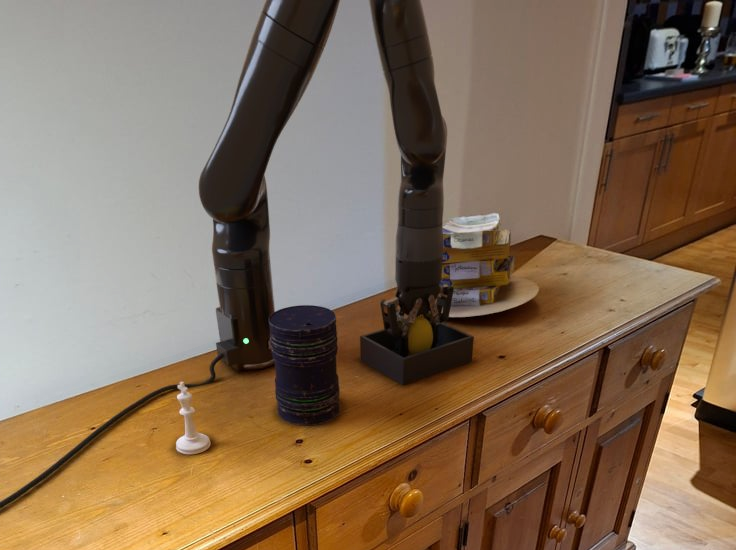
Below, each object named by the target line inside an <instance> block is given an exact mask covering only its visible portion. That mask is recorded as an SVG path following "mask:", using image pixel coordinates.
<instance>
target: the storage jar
mask: <svg viewBox="0 0 736 550" xmlns="http://www.w3.org/2000/svg"><path fill="white" fill-rule="evenodd" d="M269 326H270V344H271V347H272V349H271V353H272V356H273V358H274V362H275V364H274V370H275V378H274V387H275V389H274V393H275V400H276V405H277V415H278V417H279V418H280V419H281V420H282V421H284V422H286V423H288V424H292V425H296V426H315V425H317V426H318V425H321V424H325V423H327V422H329V421H331V420H334V419H335V418H336V417H337V416H338V415H339V413H340V410H341V409H340V395H341V394H340V391H341V390H340V389H341V388H340V384H339V383H340V382H339V380H340V379H339V375H338V373H337V372H338V371H337V354H338V349H339V347H338V331H337V315H336V313H335V312H334V311H333V309H330V308H327V307H324V306H320V305H312V304H311V305H309V304H303V305H302V304H299V305H293V306H286V307H283V308H280V309H277V310H275V312H274V313H272V314H271V315H270V317H269Z"/></svg>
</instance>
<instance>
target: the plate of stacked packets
mask: <svg viewBox="0 0 736 550" xmlns="http://www.w3.org/2000/svg"><path fill="white" fill-rule="evenodd" d="M501 225H502V222H501V217H500V214H499V213H498V212H492V213H490V214H484V213H481V214H475V215H474V214H473V215H464V214H463V213H462V215H461V216H455V217H453V218H451V217H450V218H446V219H445V220H444V221H443V237H444V238H443V261H442V279H441V282H440V283H439V285H440V284H441V283H444V284H446V285H449V286H451V287H453V288H454V292H453V297H452V302H451V307H450V313H449V318H466V317H469V318H470V317H476V316H485V315H489V314H494V313H500V312H503V311H506V310H510V309H513V308H516V307H518V306H521V305H523V304H526V303H527V302H529V301H530V300H532V299H533V298H535V297H536V296H537V295H538V293H539V291H540V288H539V286H538V284H537V283H536V282H534V281H532V280H530V279H528V278H523V277H518V276H513V274H514V271H515V256H516V253H513V254H512V255H510V254H511V252H510V249H511V243H512V237H511V236H512V231H511V230H509V229H503V230H500V226H501ZM436 302H437V299H436V301H435V304H436ZM442 312H443V307H442ZM442 312H441V313H442Z"/></svg>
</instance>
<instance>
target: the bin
mask: <svg viewBox="0 0 736 550" xmlns="http://www.w3.org/2000/svg"><path fill="white" fill-rule="evenodd" d="M403 324H404V323H403ZM402 327H403V325H402ZM401 329H402V328H401ZM474 340H475V336H474V335H472V334H470V333H467V332H465V331H462V330H460V329H458V328H456V327H454V326H451V325H450V324H447V323H446V322H442V323H441V324H440V326H439V327H438V341H437V344H436V347H435V348H432V349H429V350H426V351H423V352H420V353H417V354H414V355H411V356H409V355H408V357H405V358H404V357H402V356H400V355H398V354H397V353H396V352H395V337H393V336H392V335H390V334H387V333H386V332H385V330H384V328H383V329H379V330H376V331H372V332H369V333H366V334H365V333H364V334H363V335H359V347H360V348H359V350H360V351H359V352H360V353H359V355H360V356H359V358H360V361H361V362H363V363H364V364H365V365H368V366H369V367H370V368H372V369H375V370H376V371H378V372H380V373H382V374H383V375H385V376H387V377H388V378H390V379H392V380H393V381H395V382H397V383H399V384H400V385H402V386H404V385H407V384H411V383H412V382H416V381H419V380H422V379H424V378H427V377H430V376H433V375H436V374H439V373H442V372H445V371H447V370H451V369H453V368H456V367H459V366H461V365H465V364H468V363H471V362H473V356H474V355H473V354H474V353H473V352H474V344H475V343H474V342H475V341H474Z"/></svg>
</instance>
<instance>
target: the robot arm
mask: <svg viewBox="0 0 736 550" xmlns="http://www.w3.org/2000/svg"><path fill="white" fill-rule="evenodd" d="M340 2H341V0H265V1H264V4H263V7H262V10H261V12H260V15H259V18H258V20H257V23H256V26H255V29H254V31H253V33H252V37H251V41H250V43H249V46H248V48H247V53H246V56H245V59H244V61H243V62H244V63H243V65H242V69H241V72H240V75H239V79H238V82H237V86H236V89H235V93H234V97H233V101H232V105H231V107H230V111H229V114H228V117H227V118H226V121H225V123H224V125H223V128H222V131H221V133H220V135H219V137H218V139H217V141H216V143H215V146H214V148H213V149H212V152H211V153H210V155H209V158H208V159H207V161H206V163H205V165H204V167H203V168H202V170H201V173H200V175H199V179H198V195H199V201H200V204H201V205H202V208H203V210H204V211H205V212H206V214H207V215H208V216H209V217H210V218H211V219H212V226H213V227H212V228H213V229H212V230H213V231H212V243H211V255H212V262H213V268H214V269H213V270H214V277H215V283H216V288H217V289H216V290H217V297H218V304H219V306H218V307H216V308H215V314H216V323H217V329H218V337H219V341H217V342H216V343H215V347H216V354H217V356H216V357H215V358H214V359H213V360H212V361H211V363H210V365H209V373H210V377H209V378H208V379H207V380H205V381H204V382H200V383H192V384H191V383H189V384H188V383H184V385H185V387H187V388H188V389H189V388H196V387H201V386H205V385H209V384H211V383H213V382H214V380H215V379H216V377H217V376H216V372H215V371H216V370H215V366H216V364H217V363H218V362H219V361H220V362H222V363H223V364H225V365H226V366H228V367H231V368H233V369H234V370H235V371H237V372H241V371H254V370H262V369H266V368H268V367H271V366H273V365H275V362H274V358H273V356H272V353H271V349H272V347H271V344H270V326H269V317H270V315H271V314H272V313H274V312H276V309H275V308H276V307H275V299H274V298H275V296H274V286H273V285H274V284H273V275H272V263H271V254H270V253H271V252H270V243H271V224H270V211H269V197H268V187H267V181H266V176H265V174H266V172H267V168H268V165H269V162H270V159H271V156H272V154H273V151H274V148H275V146H276V143H277V141H278V139H279V137H280V135H281V134H282V132H283V131H284V129H285V127H286V125H287V124H288V122H289V120H290V119H291V117H292V115H293V114H294V112H295V110H296V109H297V107H298V105H299V103H300V101H301V100H302V98H303V96H304V94H305V92H306V90H307V89H308V86H309V85H310V82H311V81H312V78H313V76H314V74H315V72H316V70H317V68H318V65H319V62H320V60H321V57H322V55H323V53H324V50H325V48H326V45H327V43H328V40H329V37H330V34H331V32H332V30H333V29H332V28H333V26H334V23H335V19H336V16H337V12H338V9H339V5H340ZM368 2H369V10H370V16H371V23H372V28H373V34H374V39H375V43H376V49H377V52H378V53H377V54H378V57H379V62H380V67H381V70H382V75H383V79H384V82H385V85H386V88H387V91H388V96H389V103H390V104H389V105H390V110H391V119H392V125H393V131H394V136H395V140H396V145H397V149H398V151H399V153H400V185H399V189H398V196H397V225H396V226H397V227H396V234H395V266H394V267H395V276H394V279H395V283H396V287H397V289H396V291H395V295H394V297H392V298H390V299H388V300H387V299H385V298H383V299H382V300H381V301H380V310H381V311H380V312H381V316H382V323H383V329H384V330H385V332H386V333H387V334H390V335H392V336H393V337H395V352H396V353H397V354H398V355H400V356H402V357H404V358H405V357H408V337H407V335H408V332H409V329H410V326H411V325H413V324H414V321H415V318H416V317H418V316H419V315H420V316H422V315H423V317H424V318H426V319H427V320H428V321H429V323H430V324H431V327H432V332H433V342H432V345H431V348H430V349H432V348H435V347H436V344H437V341H438V327H439V326H440V324H441V323H442V322H443V323H447V322H448V321H449V318H450V317H449V313H450V307H451V302H452V297H453V292H454V288H453V287H451V286H449V285H446V284H444V283H441V284H440V285H439V283H440V282H441V279H442V261H443V238H444V237H443V223H444V206H445V204H444V203H445V193H444V175H445V166H446V165H445V164H446V156H447V155H446V154H447V142H448V126H447V121H446V119H445V118H444V116H443V114H442V111H441V105H440V101H439V95H438V92H437V87H436V83H435V65H434V63H435V62H434V58H433V51H432V46H431V42H430V41H431V40H430V37H429V36H430V35H429V31H428V26H427V22H426V21H427V20H426V16H425V12H424V8H423V4H422V0H368ZM436 299H437V302H436V304H435V301H436ZM442 307H443V312H442ZM441 312H442V313H441ZM405 315H406V316H407V317H406V316H405ZM403 323H404V324H403ZM402 325H403V327H402ZM401 328H402V329H401ZM178 385H180V383H179V384H171V385H166V386H163V387H160V388H158V389H156V390H154V391H151V392H149V393H148V394H147V395H145V396H143V397H141V398H140V399H138V400H136V401H135V402H133V403H132V404H130V405H128V406H127V407H126V408H124V409H123V410H121V411H119V412H118V413H117V414H115V415H114V416H113V417H111V418H110V419H108V420H107V421H106V422H105V423H103V424H102V425H100V427H98V428H97V429H95V430H94V431H93V432H92V433H90V434H89V435H88V436H87V437H86V438H84V439H83V440H82V441H81V442H79V443H78V444H77V445H76V446H75V447H73V448H72V449H71V450H70V451H69V452H67V453H66V454H64V455H63V457H61V458H60V459H58V461H56V462H55V463H53V464H52V465H51V466H50V467H49V468H47V469H46V470H45V471H43V472H42V473H41V474H39V475H38V476H37V477H35V478H33V480H31V481H30V482H28V483H27V484H25V485H24V486H22V487H21V488H19V489H18V490H17V491H15V492H13V493H12V494H11V495H9V496H7V497H6V498H4V499H2V500H1V501H0V509H2V508H4V507H5V506H7V505H9V504H10V503H12V502H13V501H15V500H16V499H18V498H20V497H21V496H22V495H24V494H25V493H27V492H28V491H30V490H31V489H33V488H34V487H35V486H36V485H38V484H39V483H41V482H42V481H44V479H46V478H48V477H49V476H50V475H52V474H53V473H54V472H55V471H57V469H59V468H60V467H62V466H63V465H64V464H65V463H66V462H68V461H69V460H70V459H71V458H72V457H73V456H75V455H76V454H77V453H78V452H80V451H81V450H82V449H83V448H85V447H86V446H87V445H88V444H89V443H90V442H92V441H93V440H94V439H95V438H97V436H99V435H100V434H102V433H103V432H105V430H107V429H108V428H110V427H111V426H112V425H113V424H114V423H116V422H117V421H119V420H120V419H121V418H122V417H124V416H126V415H127V414H129V413H130V412H131V411H133V410H134V409H136V408H138V407H140V406H141V405H143V404H144V403H146V402H147V401H149V400H151V399H152V398H154V397H156V396H158V395H160V394H163V393H165V392H168V391H171V390H179V389H178Z"/></svg>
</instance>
